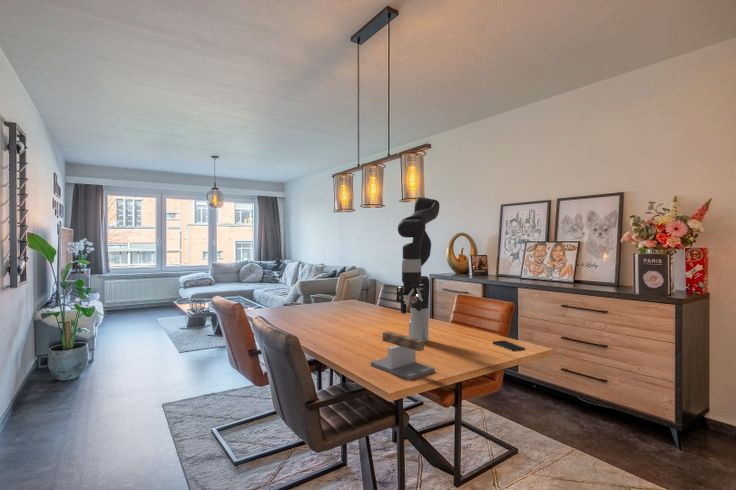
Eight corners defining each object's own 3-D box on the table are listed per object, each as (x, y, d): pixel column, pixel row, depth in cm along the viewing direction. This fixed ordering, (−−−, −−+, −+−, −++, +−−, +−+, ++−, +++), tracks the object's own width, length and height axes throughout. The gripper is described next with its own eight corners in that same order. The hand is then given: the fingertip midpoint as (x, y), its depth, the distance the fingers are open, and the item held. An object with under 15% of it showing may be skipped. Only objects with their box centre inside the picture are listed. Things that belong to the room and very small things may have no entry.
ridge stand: (370, 365, 160) (370, 342, 160) (394, 358, 169) (394, 337, 169) (410, 380, 144) (410, 354, 143) (434, 371, 153) (434, 347, 153)
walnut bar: (382, 340, 163) (382, 332, 163) (387, 339, 165) (387, 331, 165) (418, 351, 148) (418, 342, 148) (424, 349, 150) (424, 340, 150)
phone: (504, 340, 198) (525, 348, 184) (504, 342, 198) (525, 350, 184) (491, 341, 195) (512, 349, 181) (491, 344, 195) (512, 352, 181)
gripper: (416, 269, 160) (416, 308, 160) (391, 270, 150) (391, 312, 150) (430, 270, 154) (430, 311, 154) (406, 272, 145) (405, 315, 145)
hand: (411, 312), depth 152 cm, fingers open, 8 cm apart
